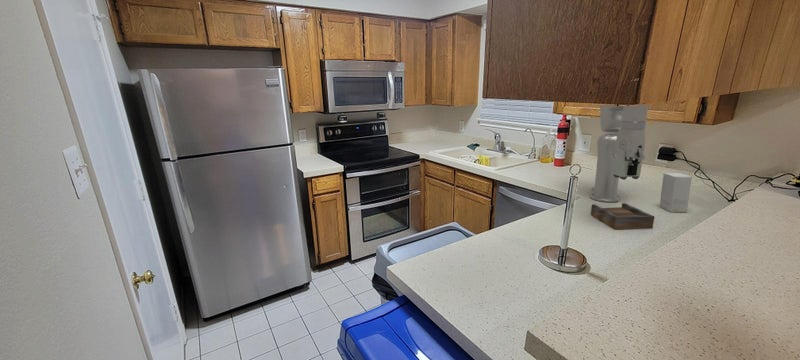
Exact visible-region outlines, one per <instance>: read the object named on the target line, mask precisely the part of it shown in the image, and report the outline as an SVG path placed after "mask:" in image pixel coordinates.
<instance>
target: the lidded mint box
mask: <svg viewBox="0 0 800 360" xmlns="http://www.w3.org/2000/svg"><path fill="white" fill-rule="evenodd" d="M625 153H626V150H621V149H617V152H616V155H615V156H616V159H615V161H614V169H613V176H614V177H617V178H618V177H619V180H620V179H621V180H624V181H625V180H627V178H632V179H634V180H638V179H639V178H640V177H641V173H642V172H641V171H642V164H643V160H642V161H641V162H640V163H639V165H638V167H637V174H636V175H633V176H628V175H627V171H628V165H630V160H629V158H628V157H627V159H625ZM634 160H635V159H633V161H634Z"/></svg>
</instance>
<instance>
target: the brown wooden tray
mask: <svg viewBox="0 0 800 360" xmlns="http://www.w3.org/2000/svg"><path fill="white" fill-rule="evenodd" d="M590 216H592V217H593V218H595V219H597V220H598V221H600V222H601V223H603V224H604V225H607V226H608V227H610V228H612V229H614V230H615V231H619V230H620V231H621V230H622V231H623V230H642V229H643V230H644V229H647V230H648V229H649V230H650V229H653V228H654V222H655V215H653V214H650V213H648V212H646V211H644V210H641V209H639V208H637V207H635V206H632V205H631V204H628V203H625V202H623V203H621V206H620V207H619V206H618V207H617V206H616V207H601V206H599V205H598V204H595V203H593V204H591V211H590Z"/></svg>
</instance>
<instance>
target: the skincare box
mask: <svg viewBox="0 0 800 360" xmlns="http://www.w3.org/2000/svg"><path fill="white" fill-rule="evenodd" d="M692 178H693V177H692V176H690V175H688V174H684V173H681V172H664V173H663V175H662V182H661V183H662V185H661V191H660V198H659V199H660V200H659V207H660V208H662V209H664V210H666V211H667V212H670V213H687V212H688V206H689V201H690V200H689V199H690V193H691V187H692V186H691V184H692Z"/></svg>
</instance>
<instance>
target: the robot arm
mask: <svg viewBox="0 0 800 360" xmlns="http://www.w3.org/2000/svg"><path fill="white" fill-rule="evenodd" d="M648 109H649V104H648V105H639V106H617V105H599V113H600V117H599V119H600V122H599V123H600V129H601V132H604V133H605V134H602V135H600V136H599V137H598V138H597V142H596V146H597V147H596V148H597V149H596V150H597V160H596V169H595V170H596V171H595V179H594V186H593V187H591V190H592V191H593V192H592V193H590V194H589V198H590V199H592V200H594V201H597V202H603V203H604V202H605V203H616V202H619V201H621V197H620V196H619V195H618V187H619V182H620V177H618V178H617V177H614V176H613V169H614V161H615V159H616V152H617V149H621V150H626V153H625V159H628V158H629V160H630V165H628V171H627V175H628V176H633V175H636V174H637V167H638V165H639V163H640V162H641V161H642V162H643V161H644V160H645V158H646V156H645V155H644V152H645V148H646V147H645V146H646V145H645V144H646V124H647V116H648ZM633 159H635V160H634V161H633Z"/></svg>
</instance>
